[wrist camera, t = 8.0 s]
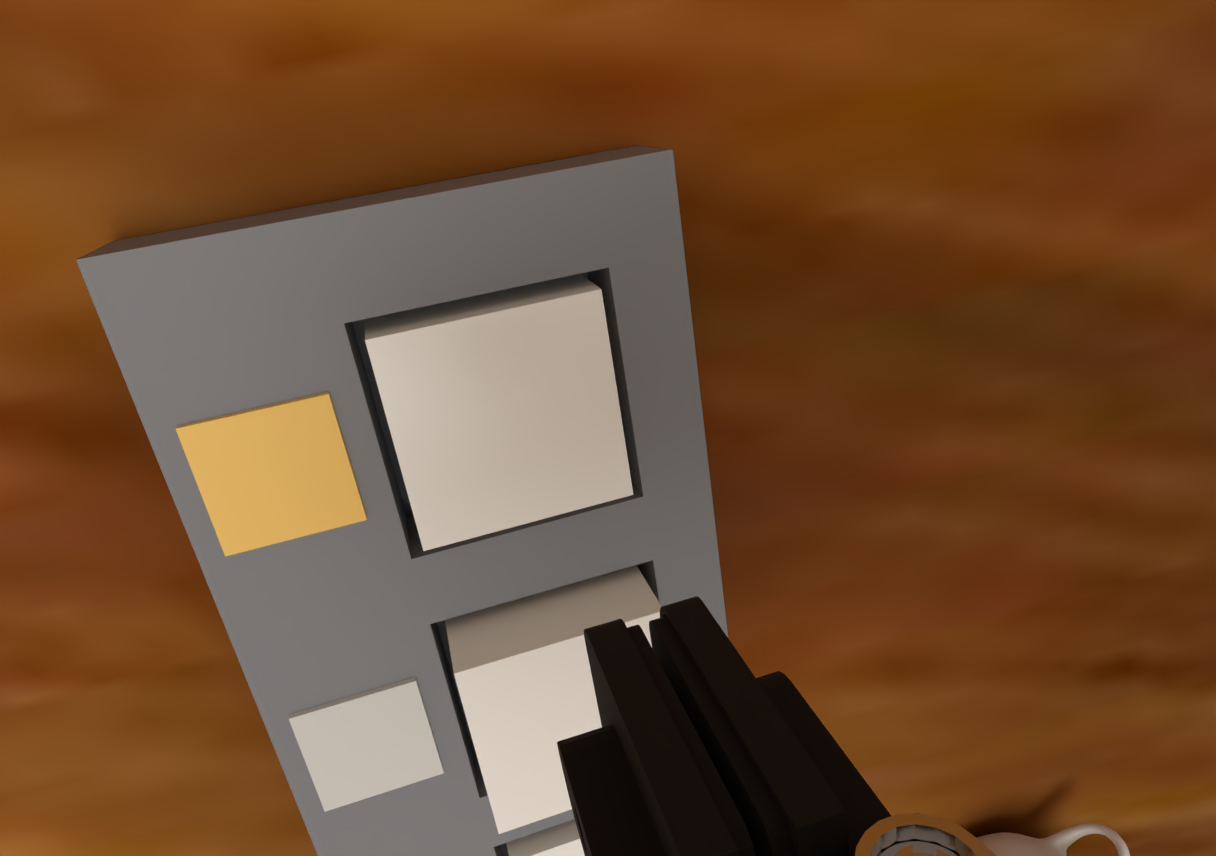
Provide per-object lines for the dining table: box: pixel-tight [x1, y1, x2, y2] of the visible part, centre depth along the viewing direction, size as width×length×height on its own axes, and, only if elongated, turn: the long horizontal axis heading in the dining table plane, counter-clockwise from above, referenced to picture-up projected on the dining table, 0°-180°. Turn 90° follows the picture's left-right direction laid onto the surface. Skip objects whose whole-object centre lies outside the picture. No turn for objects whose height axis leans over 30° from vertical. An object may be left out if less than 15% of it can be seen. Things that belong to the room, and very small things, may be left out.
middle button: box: [445, 565, 662, 834], centre depth 25 cm, size 6×6×3 cm
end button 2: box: [365, 274, 633, 551], centre depth 23 cm, size 6×6×3 cm
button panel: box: [76, 146, 728, 856], centre depth 26 cm, size 14×30×3 cm, turn 9°
